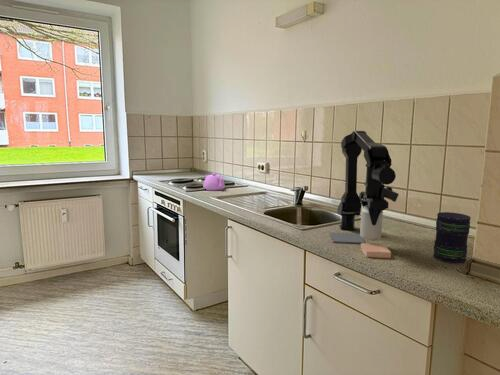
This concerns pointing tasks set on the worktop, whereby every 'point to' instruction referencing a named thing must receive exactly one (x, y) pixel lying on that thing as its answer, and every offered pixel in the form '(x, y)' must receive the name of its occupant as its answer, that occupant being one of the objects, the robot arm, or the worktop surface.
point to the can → (370, 226)
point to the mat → (347, 238)
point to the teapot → (213, 182)
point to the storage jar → (451, 237)
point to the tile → (375, 250)
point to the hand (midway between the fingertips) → (371, 222)
